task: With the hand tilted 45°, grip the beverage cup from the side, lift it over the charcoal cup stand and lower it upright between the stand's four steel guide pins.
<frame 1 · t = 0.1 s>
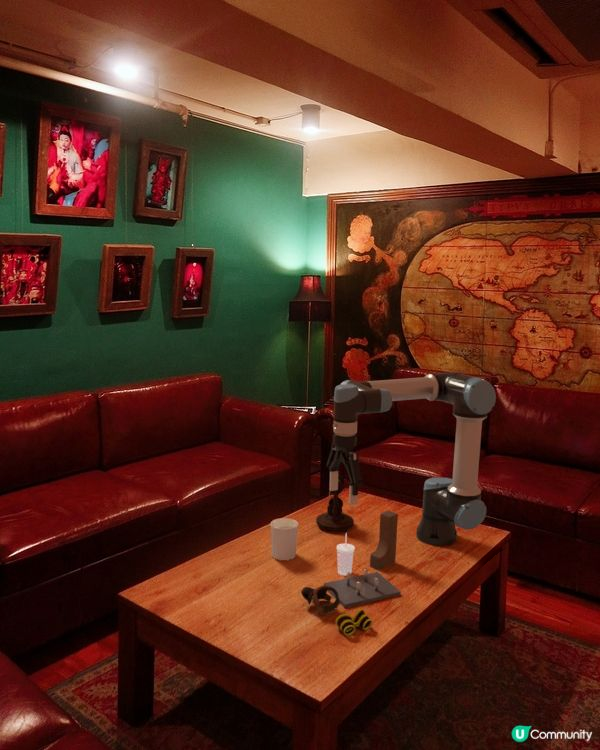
hand: (343, 497, 212), 28 cm above the table, tool pointing down, fingers open, 13 cm apart
opera glasses: (354, 630, 187), on the table
cup stand: (361, 590, 208), on the table
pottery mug: (319, 608, 197), on the table
candle holder: (283, 556, 231), on the table
beverage cup: (344, 572, 220), on the table
wooden block: (382, 564, 226), on the table
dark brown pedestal: (334, 526, 257), on the table
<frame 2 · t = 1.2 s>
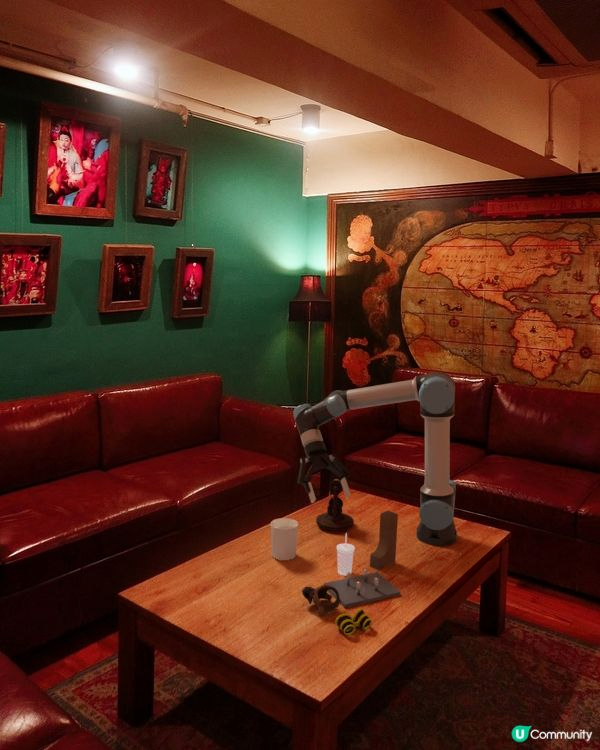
hand: (331, 498, 225), 22 cm above the table, tool tilted 45°, fingers open, 13 cm apart
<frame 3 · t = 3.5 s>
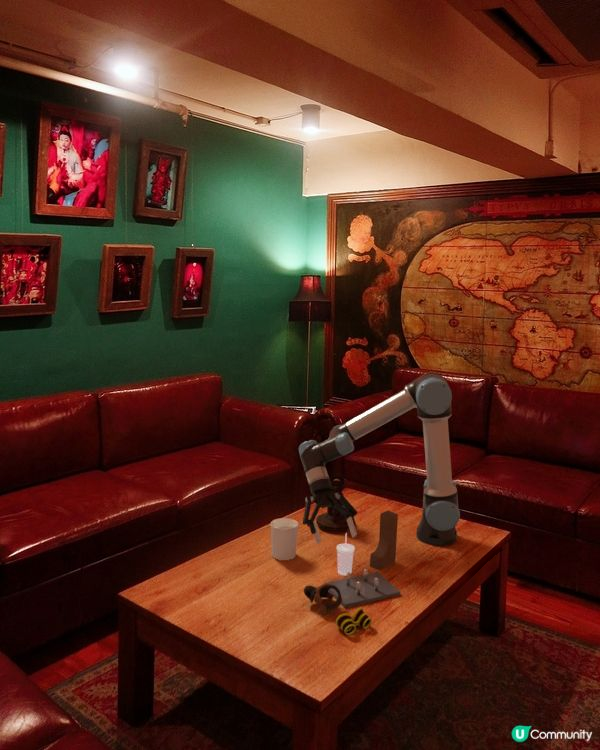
hand: (337, 539, 221), 10 cm above the table, tool tilted 45°, fingers open, 13 cm apart
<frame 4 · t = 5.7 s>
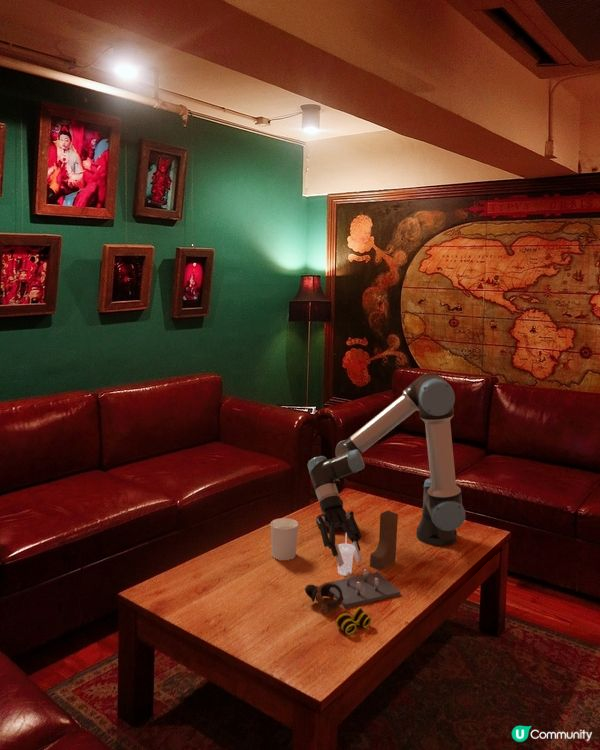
hand: (350, 563, 216), 5 cm above the table, tool tilted 45°, fingers closed on beverage cup, 6 cm apart
beverage cup: (344, 572, 220), on the table, touching gripper
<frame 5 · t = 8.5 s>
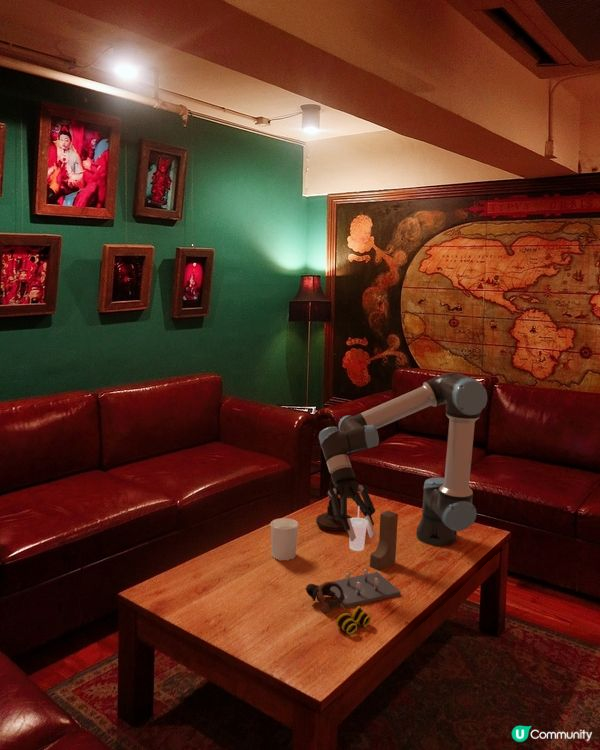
hand: (363, 537, 204), 18 cm above the table, tool tilted 45°, fingers closed on beverage cup, 6 cm apart
beverage cup: (356, 548, 208), point 13 cm above the table, touching gripper
when the fingers open (7 cm above the table, at t = 11.7 s): beverage cup drops 1 cm, resting on cup stand.
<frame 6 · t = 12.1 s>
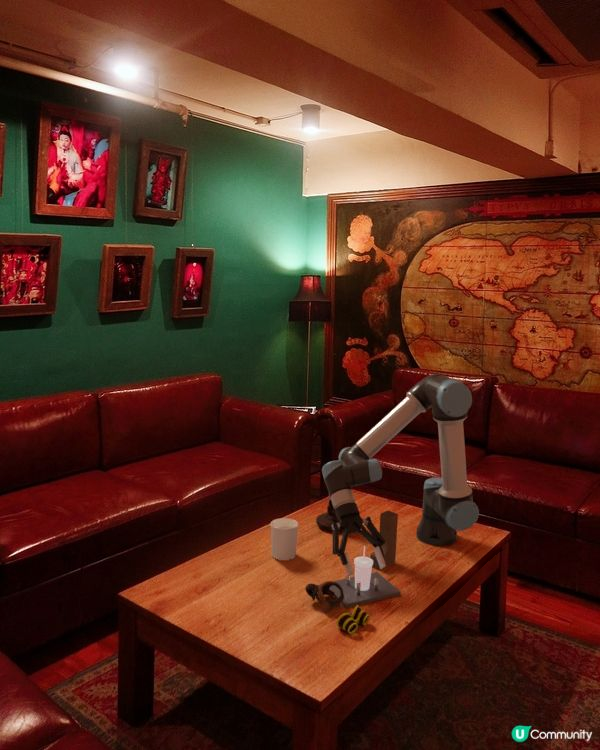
hand: (367, 571, 204), 8 cm above the table, tool tilted 45°, fingers open, 11 cm apart
beverage cup: (362, 587, 208), point 1 cm above the table, touching cup stand
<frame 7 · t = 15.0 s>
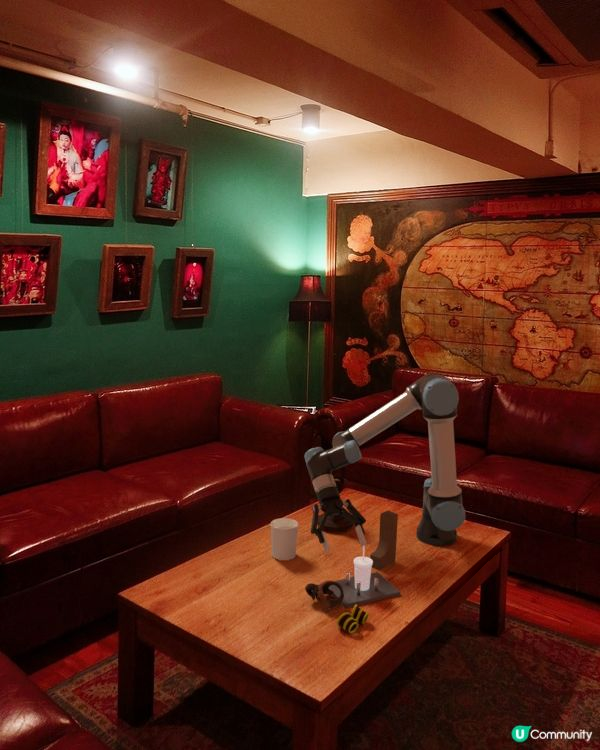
hand: (346, 548, 216), 9 cm above the table, tool tilted 45°, fingers open, 13 cm apart
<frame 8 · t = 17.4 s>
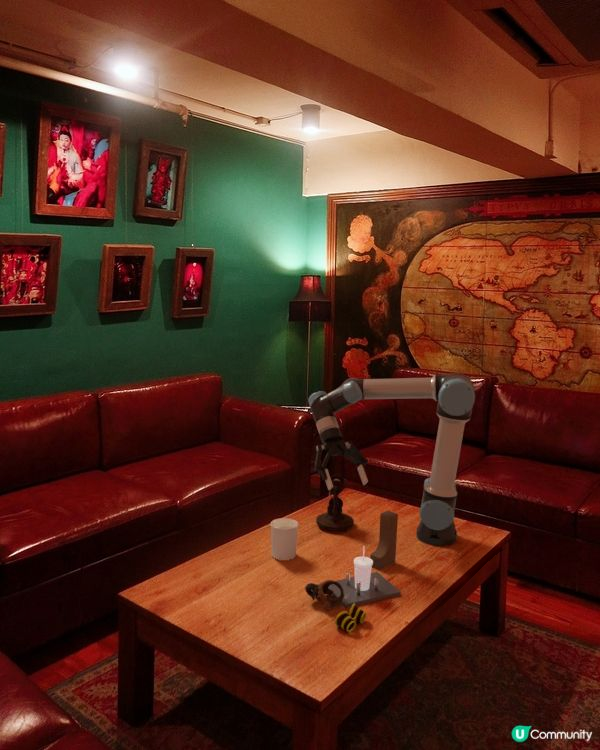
hand: (348, 485, 223), 28 cm above the table, tool tilted 45°, fingers open, 13 cm apart
at the end: beverage cup 0.1 cm off-centre on the cup stand, point 1.0 cm above the cup stand's base; beverage cup tilted 0°; the gripper is holding nothing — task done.
